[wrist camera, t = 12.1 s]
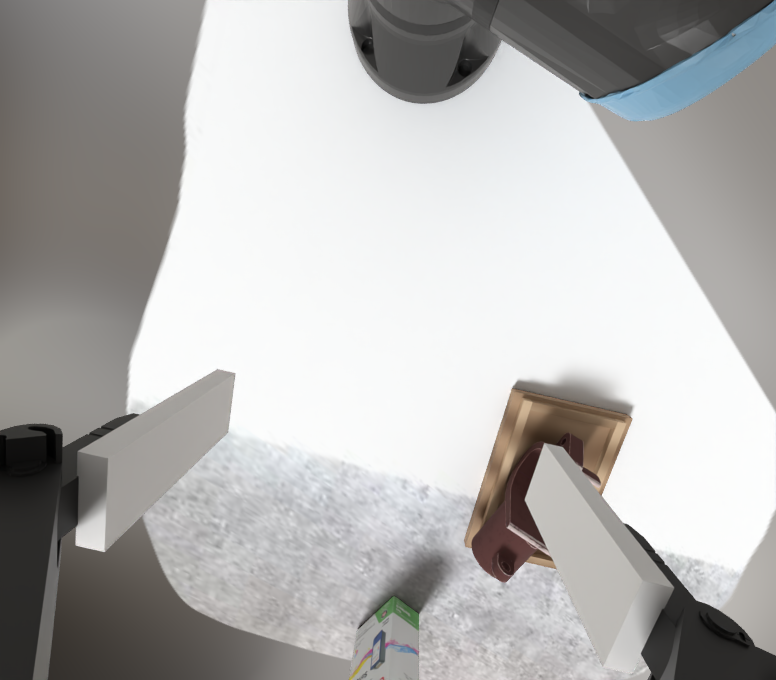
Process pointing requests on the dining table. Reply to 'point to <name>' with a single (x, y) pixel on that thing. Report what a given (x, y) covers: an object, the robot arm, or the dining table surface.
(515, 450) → the side panel
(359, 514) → the dining table surface
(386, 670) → the ink box
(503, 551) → the bracket
